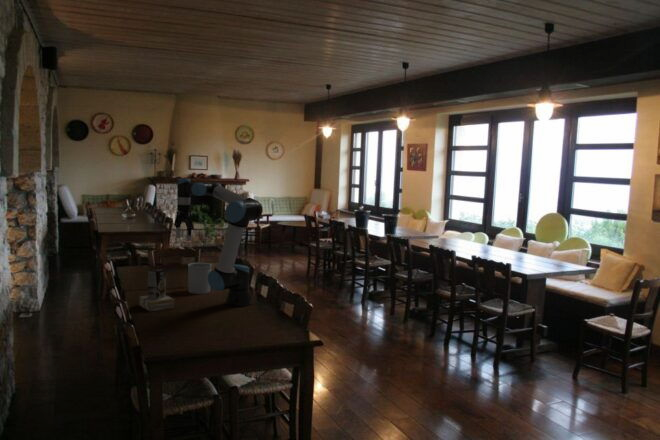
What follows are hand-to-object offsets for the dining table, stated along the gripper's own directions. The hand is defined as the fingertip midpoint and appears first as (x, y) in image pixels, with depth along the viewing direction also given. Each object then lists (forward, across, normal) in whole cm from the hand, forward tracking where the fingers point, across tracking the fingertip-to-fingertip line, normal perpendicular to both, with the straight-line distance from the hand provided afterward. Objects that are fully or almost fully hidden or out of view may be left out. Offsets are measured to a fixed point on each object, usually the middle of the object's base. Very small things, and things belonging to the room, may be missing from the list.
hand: (183, 239), depth 326 cm
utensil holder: (+36, -9, +16) cm, 40 cm away
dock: (+36, +12, -22) cm, 43 cm away
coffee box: (+31, +12, -22) cm, 40 cm away
